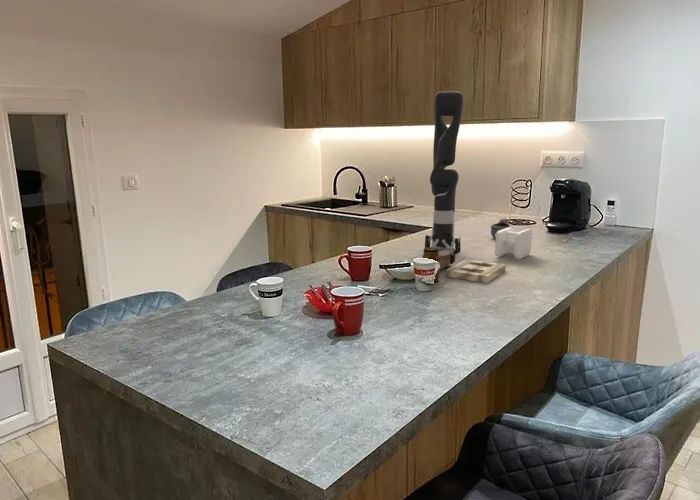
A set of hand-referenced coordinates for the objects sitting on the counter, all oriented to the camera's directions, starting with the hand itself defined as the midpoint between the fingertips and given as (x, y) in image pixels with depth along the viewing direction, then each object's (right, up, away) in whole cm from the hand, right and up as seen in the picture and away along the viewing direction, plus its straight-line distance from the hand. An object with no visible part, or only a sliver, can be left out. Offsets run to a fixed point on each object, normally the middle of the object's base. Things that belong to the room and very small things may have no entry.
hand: (442, 262), depth 206 cm
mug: (+39, +10, +57) cm, 70 cm away
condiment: (-7, -7, -16) cm, 19 cm away
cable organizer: (+34, +2, +20) cm, 39 cm away
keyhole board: (+12, -4, -7) cm, 14 cm away
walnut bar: (0, -3, +1) cm, 3 cm away
